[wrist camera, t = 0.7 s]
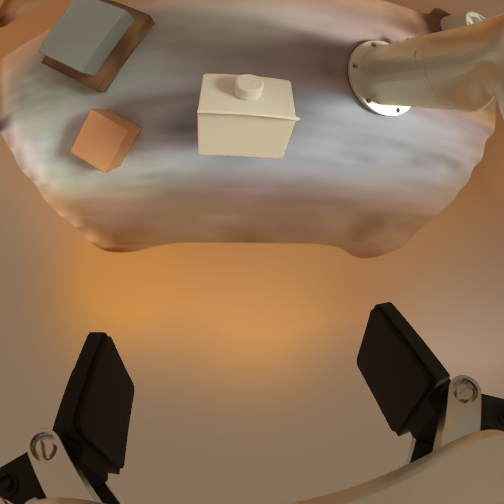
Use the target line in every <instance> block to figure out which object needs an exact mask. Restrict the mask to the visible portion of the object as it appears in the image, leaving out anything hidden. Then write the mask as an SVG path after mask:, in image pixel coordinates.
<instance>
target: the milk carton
mask: <svg viewBox="0 0 504 504" xmlns="http://www.w3.org/2000/svg"><path fill="white" fill-rule="evenodd" d="M197 113H198V154H200V155H227V156H247V157H262V158H275V159H283V156H284V153H285V150H286V147H287V144H288V142H289V139H290V136H291V133H292V130H293V127H294V124H295V121H296V120H300V118H298V117H296V115H295V108H294V101H293V95H292V88H291V82H290V81H288V80H284V79H277V78H269V77H259V76H256V75H252V74H243V75H235V74H204V75H203V81H202V87H201V93H200V100H199V107H198V110H197Z"/></svg>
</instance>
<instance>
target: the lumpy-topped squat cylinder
mask: <svg viewBox="0 0 504 504" xmlns="http://www.w3.org/2000/svg"><path fill="white" fill-rule="evenodd" d="M483 20H486V19H485V18H484V17H483V16H481V15H479V14H477V13H475V12H471V11H469V12H464V13H458V14H454V15H449V16H445V17H443V18H442V19H441V21H440V25H441V29H442V31H445V30H449V29H454V28H458V27H463V26H467V25H470V24H473V23H477V22H480V21H483Z"/></svg>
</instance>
